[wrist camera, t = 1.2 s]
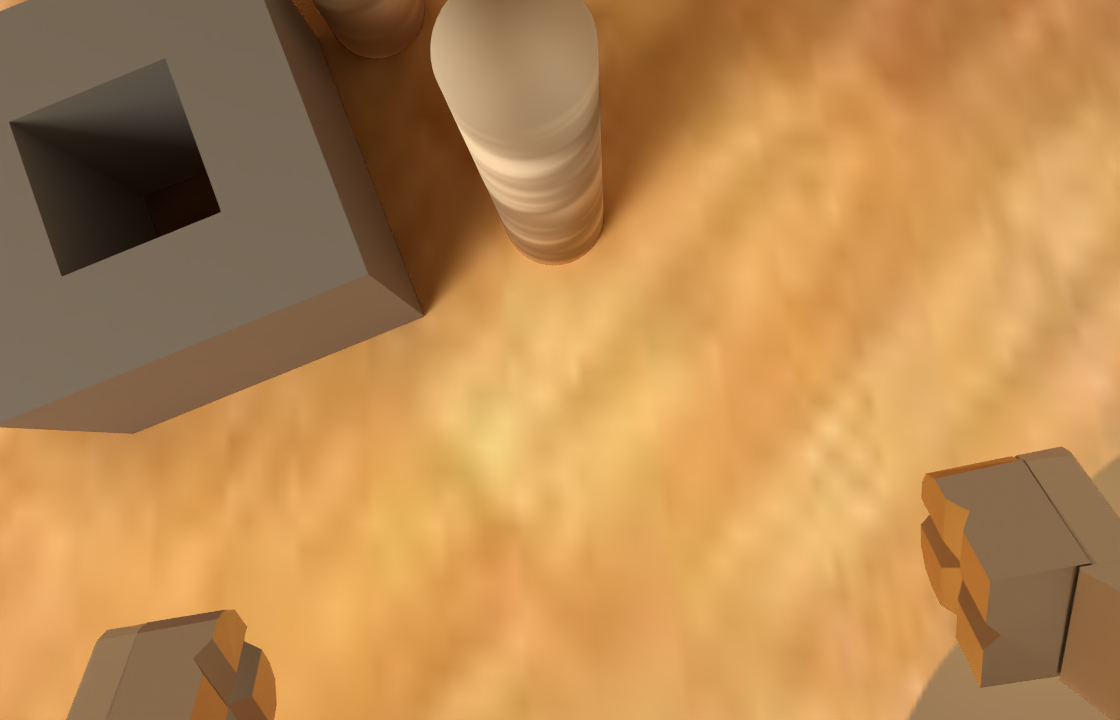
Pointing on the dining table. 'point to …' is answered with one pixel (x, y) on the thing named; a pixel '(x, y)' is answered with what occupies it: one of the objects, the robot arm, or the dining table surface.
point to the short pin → (373, 24)
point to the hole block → (195, 250)
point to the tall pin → (528, 115)
